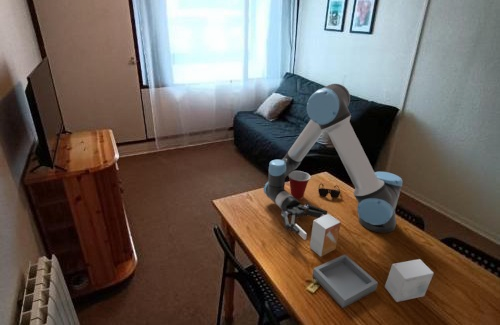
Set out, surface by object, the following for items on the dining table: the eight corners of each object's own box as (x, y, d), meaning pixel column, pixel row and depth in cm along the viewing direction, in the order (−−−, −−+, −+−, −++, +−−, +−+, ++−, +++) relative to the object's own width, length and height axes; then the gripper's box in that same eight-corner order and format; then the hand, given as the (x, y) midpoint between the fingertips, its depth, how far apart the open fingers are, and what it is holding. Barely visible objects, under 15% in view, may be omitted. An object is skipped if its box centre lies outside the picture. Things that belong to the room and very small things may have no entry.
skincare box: (397, 303, 93) (405, 278, 88) (384, 286, 98) (391, 263, 94) (425, 297, 95) (434, 272, 90) (411, 281, 101) (419, 257, 96)
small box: (321, 257, 110) (325, 229, 104) (309, 247, 115) (312, 220, 109) (336, 249, 114) (341, 221, 108) (324, 240, 119) (328, 213, 113)
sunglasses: (317, 197, 148) (318, 187, 146) (318, 187, 159) (319, 179, 157) (339, 200, 145) (340, 190, 144) (338, 190, 156) (339, 181, 155)
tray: (343, 261, 108) (345, 254, 107) (375, 290, 97) (377, 282, 95) (312, 275, 102) (313, 268, 100) (342, 308, 91) (344, 300, 89)
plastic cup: (311, 194, 149) (314, 173, 144) (303, 204, 141) (305, 182, 136) (292, 188, 155) (293, 167, 149) (282, 197, 146) (284, 176, 141)
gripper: (309, 203, 137) (343, 229, 120) (262, 218, 126) (292, 249, 109) (311, 189, 133) (346, 214, 117) (263, 203, 123) (293, 233, 106)
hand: (320, 231), depth 113 cm, fingers open, 13 cm apart
